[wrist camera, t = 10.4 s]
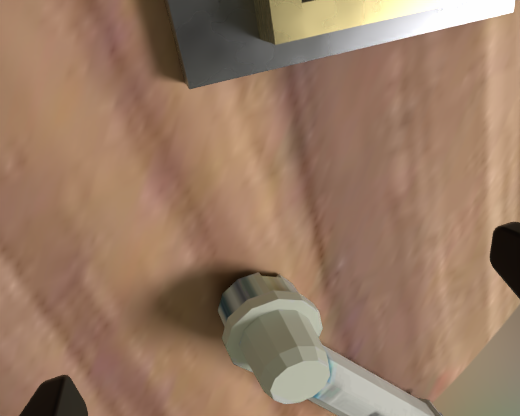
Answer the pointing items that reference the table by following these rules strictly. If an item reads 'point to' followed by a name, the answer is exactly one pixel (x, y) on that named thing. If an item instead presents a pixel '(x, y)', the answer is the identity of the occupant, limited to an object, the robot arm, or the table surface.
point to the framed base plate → (301, 30)
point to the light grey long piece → (302, 353)
